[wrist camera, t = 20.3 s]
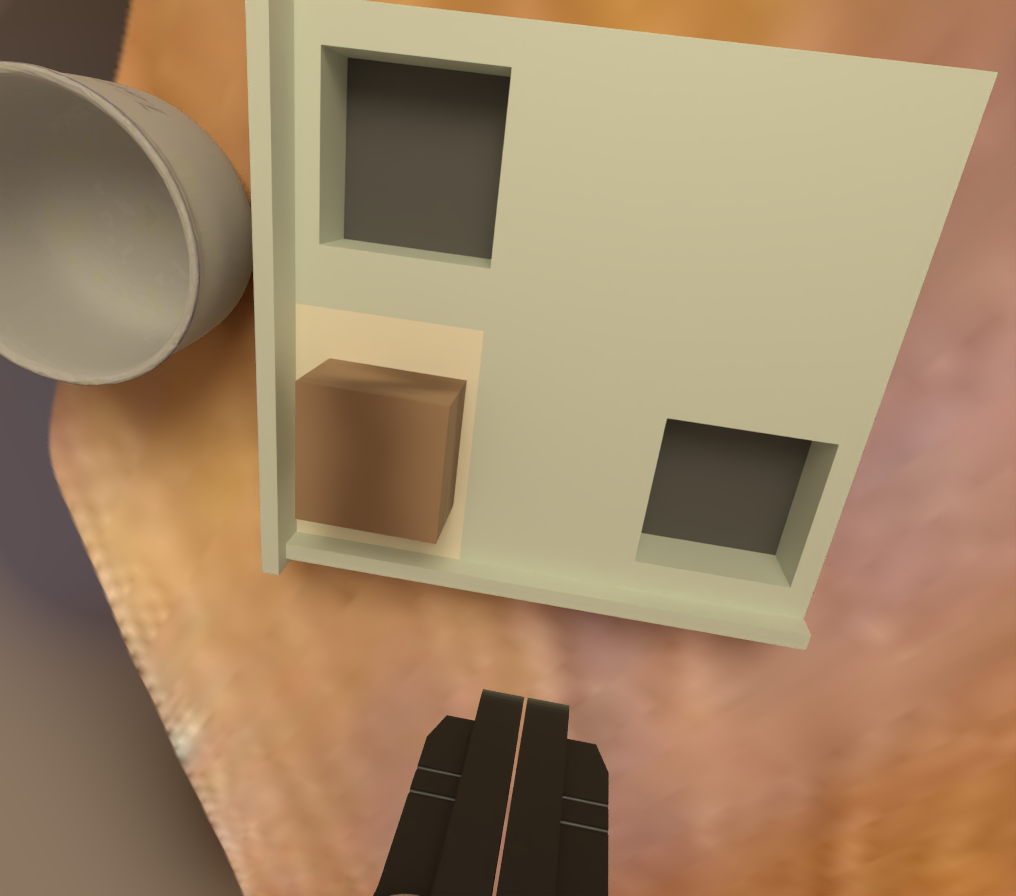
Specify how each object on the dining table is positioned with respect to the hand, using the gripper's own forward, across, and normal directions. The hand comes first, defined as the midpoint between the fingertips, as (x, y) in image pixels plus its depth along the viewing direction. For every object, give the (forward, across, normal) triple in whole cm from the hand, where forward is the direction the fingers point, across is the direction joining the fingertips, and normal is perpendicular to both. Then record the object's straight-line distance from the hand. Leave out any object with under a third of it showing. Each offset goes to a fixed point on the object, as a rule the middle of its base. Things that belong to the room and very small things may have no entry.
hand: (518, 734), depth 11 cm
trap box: (+21, 0, -3) cm, 21 cm away
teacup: (+21, +21, -4) cm, 30 cm away
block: (+18, +8, +2) cm, 20 cm away
